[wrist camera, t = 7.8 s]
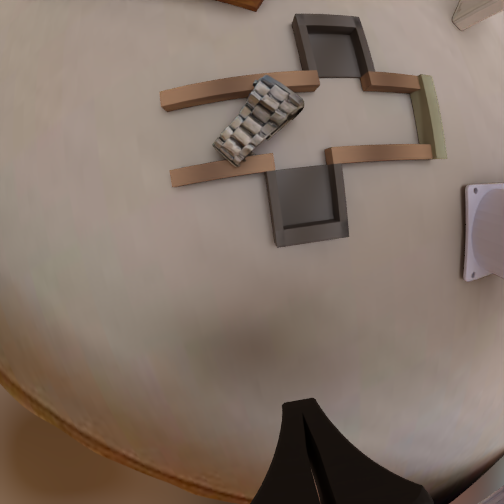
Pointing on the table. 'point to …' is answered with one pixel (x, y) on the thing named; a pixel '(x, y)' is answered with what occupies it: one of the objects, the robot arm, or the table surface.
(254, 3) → the diary
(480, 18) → the hard drive
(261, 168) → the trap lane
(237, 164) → the wristwatch
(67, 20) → the table surface
